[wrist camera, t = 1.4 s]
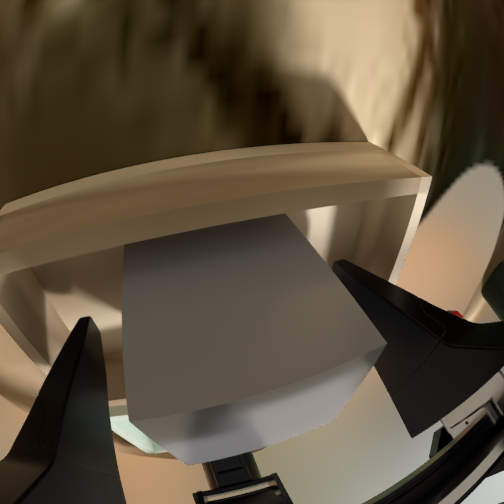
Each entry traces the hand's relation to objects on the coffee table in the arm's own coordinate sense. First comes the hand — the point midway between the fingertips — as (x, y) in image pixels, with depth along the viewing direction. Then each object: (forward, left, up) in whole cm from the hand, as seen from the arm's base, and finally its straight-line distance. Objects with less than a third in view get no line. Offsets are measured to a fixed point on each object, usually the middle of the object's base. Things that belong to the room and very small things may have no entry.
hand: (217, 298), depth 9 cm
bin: (0, 0, -2) cm, 2 cm away
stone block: (0, 0, -1) cm, 1 cm away
